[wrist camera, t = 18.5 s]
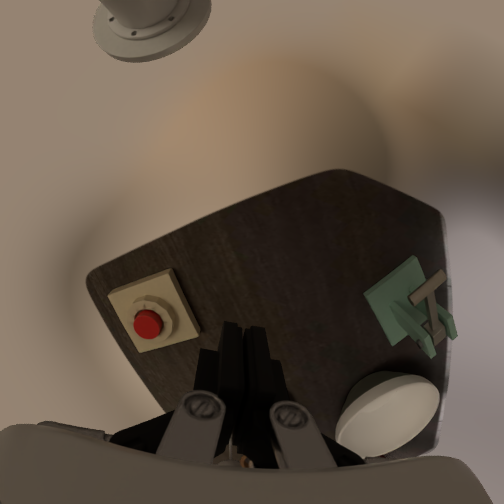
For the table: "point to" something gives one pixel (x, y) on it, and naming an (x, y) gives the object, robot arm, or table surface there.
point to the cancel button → (147, 324)
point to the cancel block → (156, 309)
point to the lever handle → (430, 305)
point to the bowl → (385, 412)
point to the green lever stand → (405, 307)
